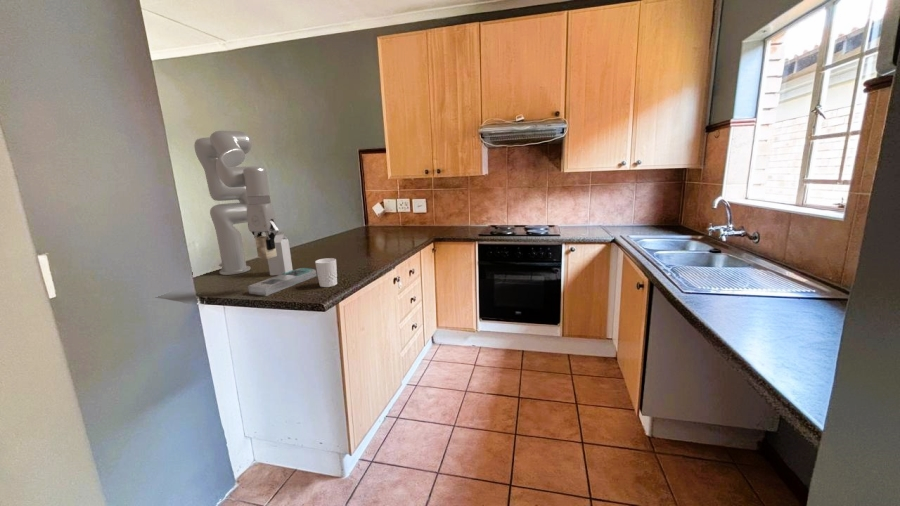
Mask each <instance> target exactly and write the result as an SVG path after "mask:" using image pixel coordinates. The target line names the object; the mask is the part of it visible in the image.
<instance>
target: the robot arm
mask: <svg viewBox="0 0 900 506" xmlns="http://www.w3.org/2000/svg"><path fill="white" fill-rule="evenodd" d="M193 146H194V151H195V152H194V153H195V155H196V157H197V160H198V161H199V163H200V164H201V166H202V168H203V170H204V175H205V178H206V179H205V180H206V182H207V188H208V192H209V196H210V197H211V199H212V200H214V201H218V202H223V201H224V202H225V201H239V202H229V203H219V204H215V205H213V206H212V207H211V208H210V210H209V214H210V218H211V221H212V224H213V226H214V230H215V234H216V239H217V245H218V250H219V255H220V260H221V262H220V263H219V264H218V266H219V267H221V269H220V270H219V274H220V275H222V276H228V275H229V276H230V275H231V276H232V275H238V274H243V273H246V272H249V271H250V270H251V266H250V265H247V261H246V257H245V250H244V249H245V248H244V244H243V239H242V233H241V231H240V230H238V228H236V227H235V226H234V225H237V224H245V223H247V227H248V230H249V232H250V233H252V235H253V237H254V239H255V237H260V236H264V234H265V235H266V237H267V240H266V243H267V250H272V249H275V242H274V238H275V236H276V234H277V233H278V232H280V230H279V228H278V227H277V220H276V215H275V210H274V208H273V205H272V202H271V195H270V188H269V181H268V174H267V170H266V168H265V167H263V166H240V165H241V164H243V162H244V161H245V159H246V155H247V154H248V153H249V152H250V151H251V149H252V141H251V138H250V136H249V135H248V134H247V133H246V132H244V131H239V130H238V131H237V130H217V131H214V132H212V133H211V134H210V136H209V137H200V138H197V139H196V140H195V141H194V145H193ZM269 232H270V235H269ZM263 233H264V234H263Z"/></svg>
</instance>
